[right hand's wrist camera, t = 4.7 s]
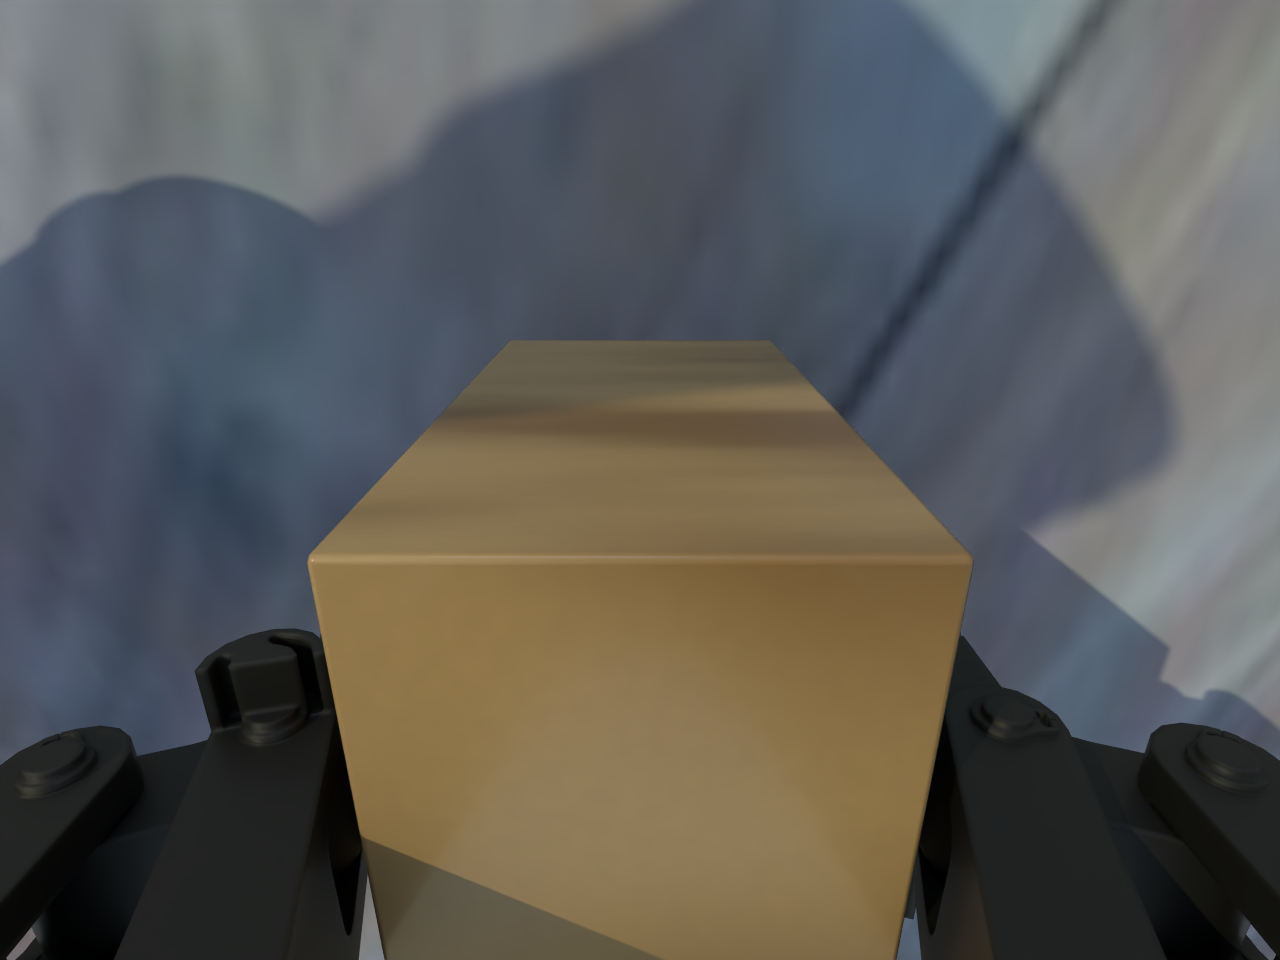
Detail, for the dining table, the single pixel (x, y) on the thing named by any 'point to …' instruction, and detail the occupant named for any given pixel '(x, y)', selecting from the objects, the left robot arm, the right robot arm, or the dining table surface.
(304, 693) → the right robot arm
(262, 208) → the dining table surface
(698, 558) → the bar
